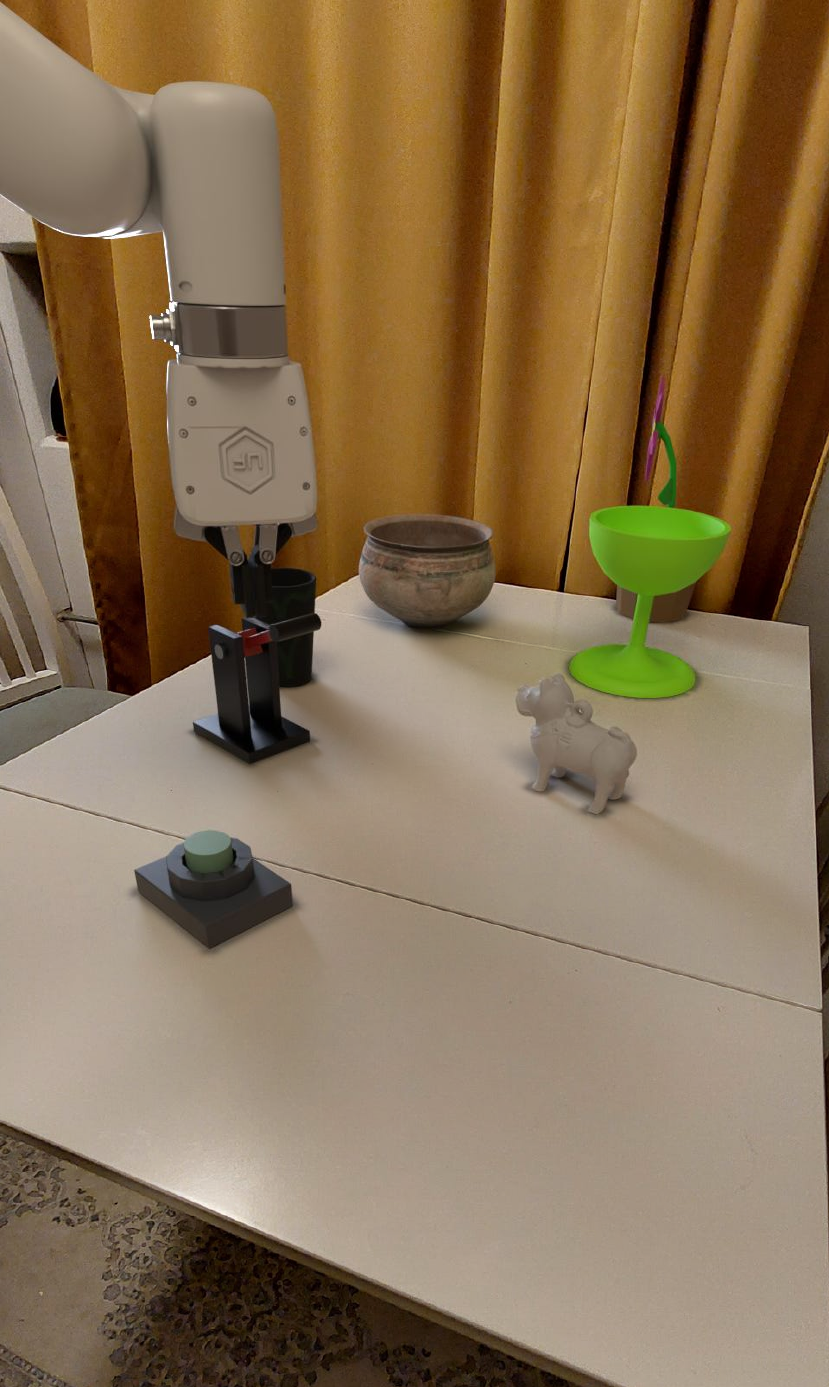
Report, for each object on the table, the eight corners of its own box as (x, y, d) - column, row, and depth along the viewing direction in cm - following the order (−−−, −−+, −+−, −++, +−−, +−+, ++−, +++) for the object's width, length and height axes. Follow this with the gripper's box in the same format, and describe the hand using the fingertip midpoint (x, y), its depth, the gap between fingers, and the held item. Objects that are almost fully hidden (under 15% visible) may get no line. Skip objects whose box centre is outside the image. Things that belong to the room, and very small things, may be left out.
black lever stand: (310, 740, 94) (305, 631, 86) (249, 764, 89) (238, 650, 82) (253, 711, 99) (244, 606, 92) (193, 731, 94) (179, 622, 87)
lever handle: (325, 632, 82) (317, 606, 81) (282, 645, 79) (274, 618, 78) (260, 653, 91) (252, 629, 90) (220, 664, 88) (211, 640, 87)
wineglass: (714, 669, 113) (751, 520, 102) (665, 709, 103) (699, 548, 92) (602, 641, 121) (625, 499, 110) (545, 675, 110) (564, 522, 99)
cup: (244, 677, 107) (234, 576, 99) (291, 661, 111) (286, 563, 104) (285, 696, 103) (278, 591, 95) (333, 678, 107) (330, 577, 100)
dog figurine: (524, 759, 92) (536, 660, 85) (635, 798, 86) (656, 694, 79) (496, 777, 88) (505, 675, 82) (608, 819, 82) (628, 712, 76)
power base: (137, 892, 71) (129, 850, 68) (220, 855, 76) (215, 815, 73) (209, 949, 65) (203, 906, 63) (293, 906, 70) (290, 864, 68)
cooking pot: (505, 652, 116) (514, 555, 109) (363, 652, 115) (362, 554, 107) (478, 593, 136) (484, 508, 128) (356, 593, 134) (355, 507, 127)
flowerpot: (603, 592, 138) (638, 369, 120) (696, 601, 136) (746, 374, 118) (600, 622, 127) (638, 380, 109) (702, 631, 125) (758, 387, 107)
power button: (177, 860, 68) (174, 841, 67) (215, 843, 70) (213, 825, 69) (203, 879, 66) (201, 860, 65) (242, 862, 68) (240, 843, 67)
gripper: (119, 341, 54) (162, 635, 65) (353, 343, 58) (356, 620, 69) (113, 331, 60) (153, 604, 71) (327, 334, 64) (333, 592, 75)
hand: (253, 611), depth 70 cm, fingers closed
